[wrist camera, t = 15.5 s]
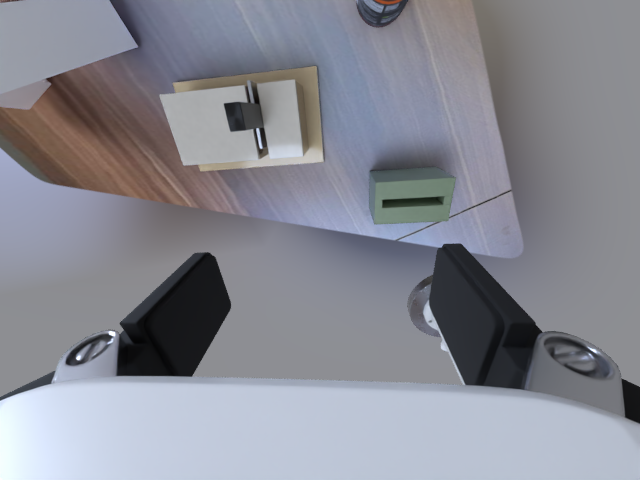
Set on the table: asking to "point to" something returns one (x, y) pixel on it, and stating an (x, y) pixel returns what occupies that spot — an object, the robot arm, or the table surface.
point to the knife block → (410, 195)
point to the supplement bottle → (380, 11)
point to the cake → (242, 146)
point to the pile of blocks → (53, 43)
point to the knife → (247, 115)
